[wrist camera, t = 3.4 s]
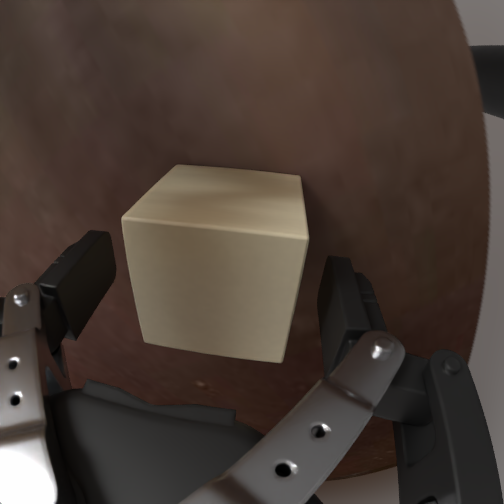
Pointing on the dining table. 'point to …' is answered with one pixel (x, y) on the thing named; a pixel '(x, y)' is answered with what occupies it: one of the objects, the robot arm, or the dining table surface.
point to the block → (218, 260)
